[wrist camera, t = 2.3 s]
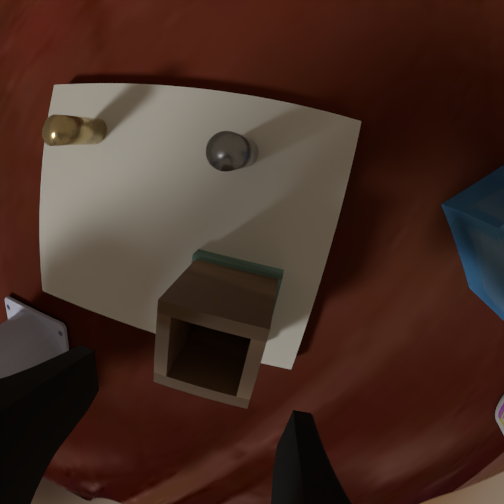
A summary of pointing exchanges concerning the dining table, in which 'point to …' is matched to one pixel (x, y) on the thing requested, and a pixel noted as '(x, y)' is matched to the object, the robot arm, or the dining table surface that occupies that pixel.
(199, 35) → the dining table surface
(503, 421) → the supplement bottle
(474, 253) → the perfume bottle
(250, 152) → the steel pin
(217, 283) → the walnut sleeve
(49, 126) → the brass pin
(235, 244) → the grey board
